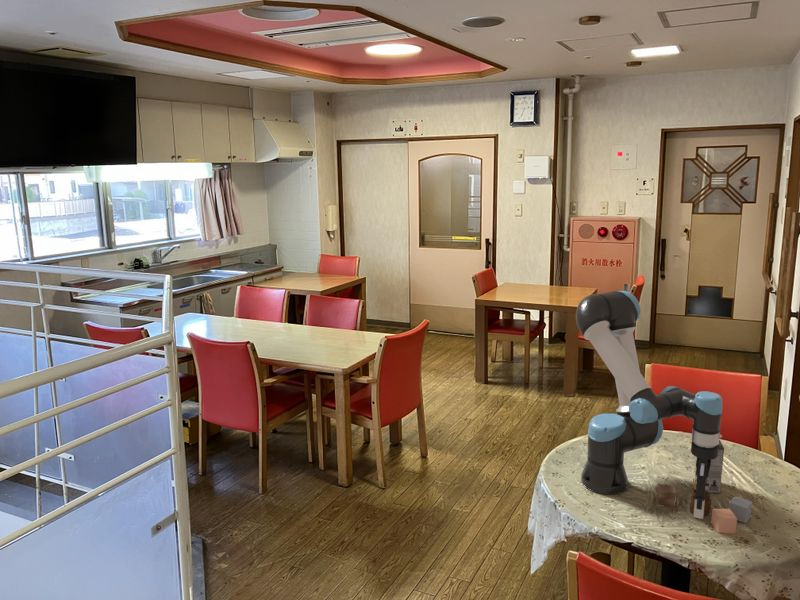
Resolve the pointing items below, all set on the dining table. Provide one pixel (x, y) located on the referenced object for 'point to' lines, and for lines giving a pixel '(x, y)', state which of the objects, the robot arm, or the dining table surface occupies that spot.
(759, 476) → the dining table surface
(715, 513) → the terracotta block
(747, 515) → the slate block
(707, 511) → the utensil holder
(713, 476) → the coffee box
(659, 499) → the walnut block
